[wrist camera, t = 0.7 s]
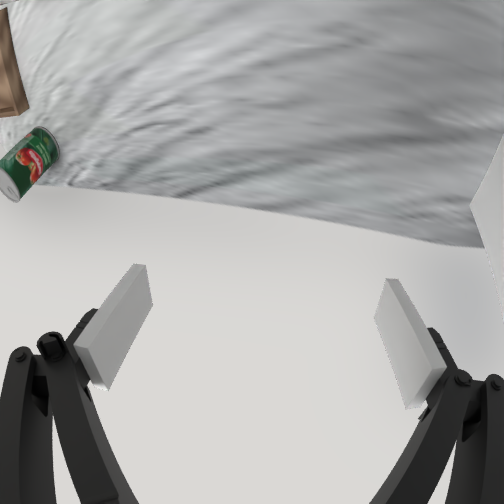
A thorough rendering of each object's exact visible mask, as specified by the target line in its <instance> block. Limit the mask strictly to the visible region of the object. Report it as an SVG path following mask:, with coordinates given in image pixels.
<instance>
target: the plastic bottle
mask: <svg viewBox="0 0 504 504" xmlns="http://www.w3.org/2000/svg"><path fill="white" fill-rule="evenodd" d="M12 1H18V0H0V5H3V4H6V3H9V2H12Z"/></svg>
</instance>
